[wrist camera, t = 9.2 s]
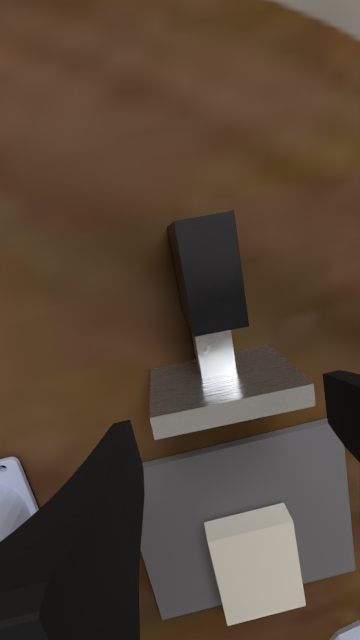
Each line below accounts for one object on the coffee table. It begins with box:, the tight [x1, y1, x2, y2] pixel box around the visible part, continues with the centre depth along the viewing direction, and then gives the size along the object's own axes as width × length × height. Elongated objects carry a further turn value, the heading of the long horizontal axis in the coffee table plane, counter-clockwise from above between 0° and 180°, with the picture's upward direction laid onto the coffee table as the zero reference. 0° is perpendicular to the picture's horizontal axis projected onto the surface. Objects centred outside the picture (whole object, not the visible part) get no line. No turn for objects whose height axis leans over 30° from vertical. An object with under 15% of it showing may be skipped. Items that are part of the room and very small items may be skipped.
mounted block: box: [150, 210, 315, 440], centre depth 17 cm, size 8×10×6 cm
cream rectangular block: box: [204, 503, 306, 626], centre depth 23 cm, size 6×2×8 cm
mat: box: [140, 418, 356, 620], centre depth 24 cm, size 16×14×1 cm
